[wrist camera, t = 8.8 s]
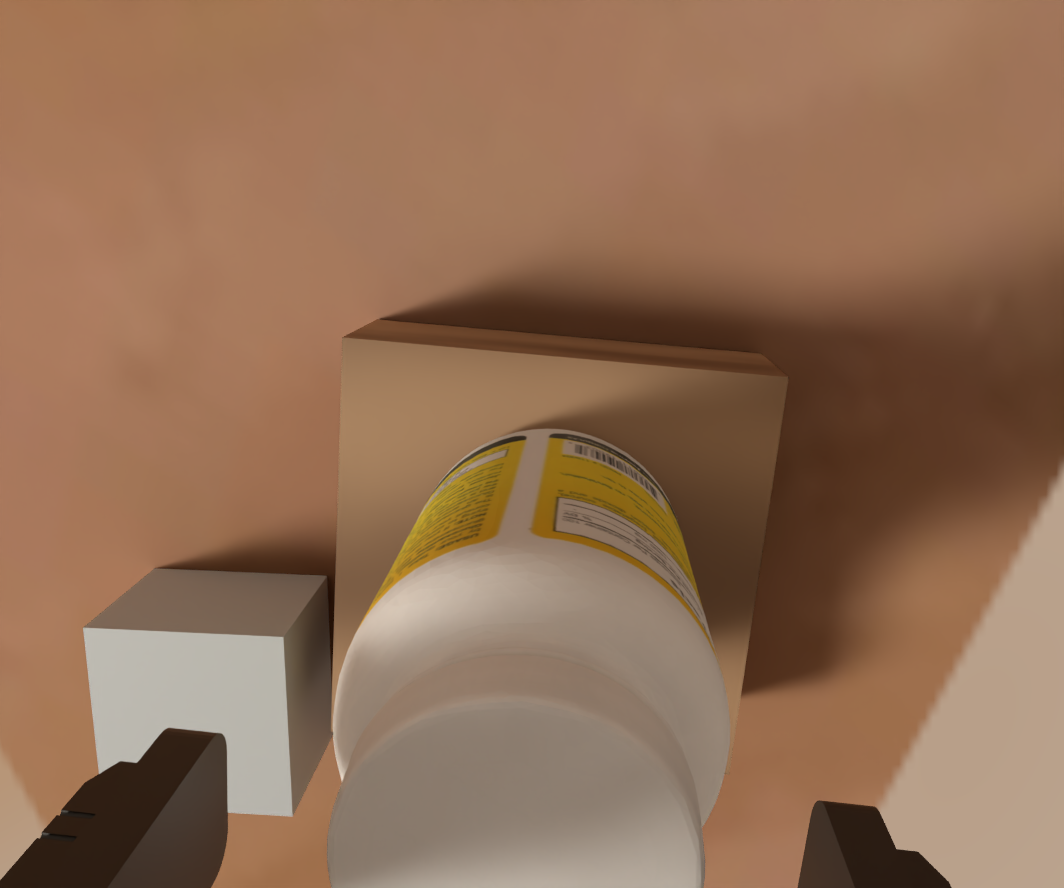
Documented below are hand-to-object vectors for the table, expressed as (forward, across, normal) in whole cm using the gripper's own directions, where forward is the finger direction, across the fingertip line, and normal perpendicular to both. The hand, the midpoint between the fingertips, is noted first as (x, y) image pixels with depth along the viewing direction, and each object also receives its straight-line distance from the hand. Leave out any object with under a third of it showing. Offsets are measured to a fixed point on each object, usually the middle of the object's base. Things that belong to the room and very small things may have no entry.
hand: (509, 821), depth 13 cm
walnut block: (+13, 0, 0) cm, 13 cm away
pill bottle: (+10, 0, 0) cm, 10 cm away
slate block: (+13, +8, +5) cm, 17 cm away
